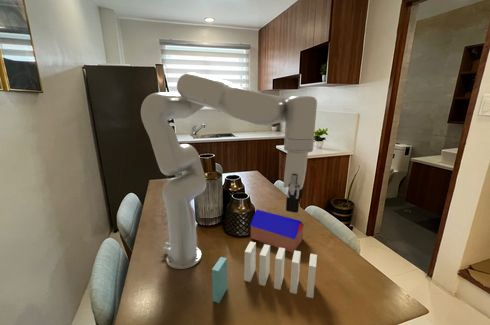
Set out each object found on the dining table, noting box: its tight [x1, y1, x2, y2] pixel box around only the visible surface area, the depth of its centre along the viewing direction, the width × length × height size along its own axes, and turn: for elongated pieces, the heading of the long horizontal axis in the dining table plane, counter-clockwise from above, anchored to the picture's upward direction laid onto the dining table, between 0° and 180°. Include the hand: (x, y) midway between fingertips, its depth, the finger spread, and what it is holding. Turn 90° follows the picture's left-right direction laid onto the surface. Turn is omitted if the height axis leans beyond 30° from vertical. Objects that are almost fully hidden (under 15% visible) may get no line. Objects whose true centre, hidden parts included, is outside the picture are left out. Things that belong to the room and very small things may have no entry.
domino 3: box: [258, 243, 271, 287], centre depth 77 cm, size 2×6×11 cm, turn 161°
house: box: [249, 209, 305, 254], centre depth 100 cm, size 12×20×12 cm, turn 59°
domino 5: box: [289, 249, 302, 295], centre depth 74 cm, size 2×6×11 cm, turn 161°
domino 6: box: [306, 253, 318, 299], centre depth 72 cm, size 2×6×11 cm, turn 161°
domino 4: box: [273, 247, 286, 291], centre depth 75 cm, size 2×6×11 cm, turn 161°
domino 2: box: [243, 241, 257, 283], centre depth 79 cm, size 2×6×11 cm, turn 161°
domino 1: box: [211, 256, 228, 304], centre depth 71 cm, size 2×6×11 cm, turn 161°
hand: (294, 204), depth 66 cm, fingers open, 9 cm apart
